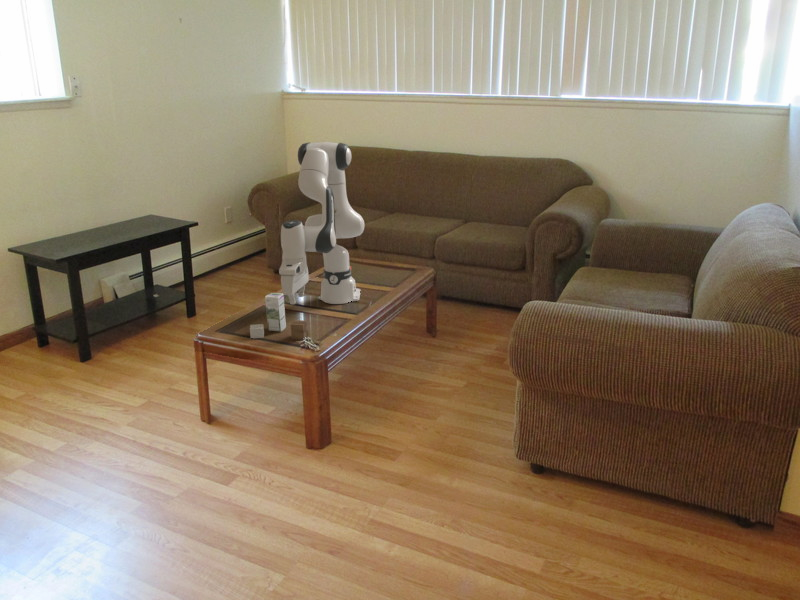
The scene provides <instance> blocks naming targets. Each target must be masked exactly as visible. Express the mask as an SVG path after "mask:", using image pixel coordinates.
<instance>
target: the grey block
mask: <svg viewBox="0 0 800 600" xmlns="http://www.w3.org/2000/svg"><path fill="white" fill-rule="evenodd" d="M249 334H250V339H251V338H253V339H264V338H265V328H264V323H260V324H259V323H258V324H250V325H249Z"/></svg>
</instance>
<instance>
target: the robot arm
mask: <svg viewBox="0 0 800 600" xmlns="http://www.w3.org/2000/svg"><path fill="white" fill-rule="evenodd" d="M352 157H353V156H352V150H351V148H350V146H349V145H348V144H346V143H344V142H338V143H337V142H331V141H323V142H320V141H319V142H305V143H302V144H301V145H300V146H299V148H298V150H297V161H298V163H299V165H300V169H299V172H298V173H299V174H298V181H297V183H298V188H299V190H300V192H301V193H302V194H303V195H304V196H305V197H307V198H309V199H311V200H313V201H316V202H318V203H319V204H321V208H322V209H321V213H318V214H313V215H311V216H308V217H307V218H306V221H305V223H304V225H303V222H302V221H301V220H297V219H291V220H286V221H285V222H283V223H282V224H281V230H280V231H281V232H280V245H281V249H282V256H281V257H282V258H281V259H282V260H281V265H280V267H279V268H278V273H279V275H280V285H281V292H282V293H283V295H284V296H288V297H287V298H288V299H289V303H290V305H296V303H297V301H296V300H297V299H296V297H295V294H296V293H297V292H298V293H297V294H298V297H299V298H303V297H304V296H305V288H306V284H307V283H309V280H310V277H309V275H310V273H309V269H308V263H307V254H306V252H309V253H310V252H311V253H312V252H313V253H314V252H315V253H321V254H322V257H323V265H324V266H323V267H324V269H323V280H322V281H321V282H320V284H321V285H320V288H321V289H320V293H321V294H320V295H319V296H318V297H317V298H318V300H321V302H324V303H326V304H331V305H341V304H348V302H349V303H351V301H352V302H356V301H357V302H358V301H360V297H361V293H360V291H361V290H362V289H361V288H357V286H356V280H355V278H353V276H352V266H350V253H349V251H348V249H346V248H345V247H344V246H342V245H339V244H337V239H351V238H355V237H359V236H361V235H362V234H363V232H364V230H365V226H366V225H365V220H364V218H363V217H362V215H361V214H360V213H358V212H357V211H356V210H354V209H353V208H352V206H351V204H350V202H349V200H348V194H347V184H346V182H347V180H346V172H345V170H346V169H348V167H350V165H351V163H352ZM361 292H362V291H361Z"/></svg>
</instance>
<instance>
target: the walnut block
mask: <svg viewBox="0 0 800 600" xmlns="http://www.w3.org/2000/svg"><path fill="white" fill-rule="evenodd" d="M308 326H309V325H308V320H303V319H302V320H297V319H295V320H294V321H292V322H291V324H290V335H291V340H297V341H298V340H300V341H301V339H303V338H305V337H306V338H307V337H308V336H309V327H308ZM306 338H305V339H306Z"/></svg>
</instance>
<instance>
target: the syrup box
mask: <svg viewBox="0 0 800 600" xmlns="http://www.w3.org/2000/svg"><path fill="white" fill-rule="evenodd" d="M264 300H265V301H264V303H265V310H266V311H265V312H266V313H265V314H266V322H267V323H266V324H267V331H268V332H280V333H281V332H282V331H284V330H285V329H286V328H287V323H286V322H287V321H286V310H285V295H284V294H283V292H282V293H281V292H269V293H268V294H266V295H265V296H264Z"/></svg>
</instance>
